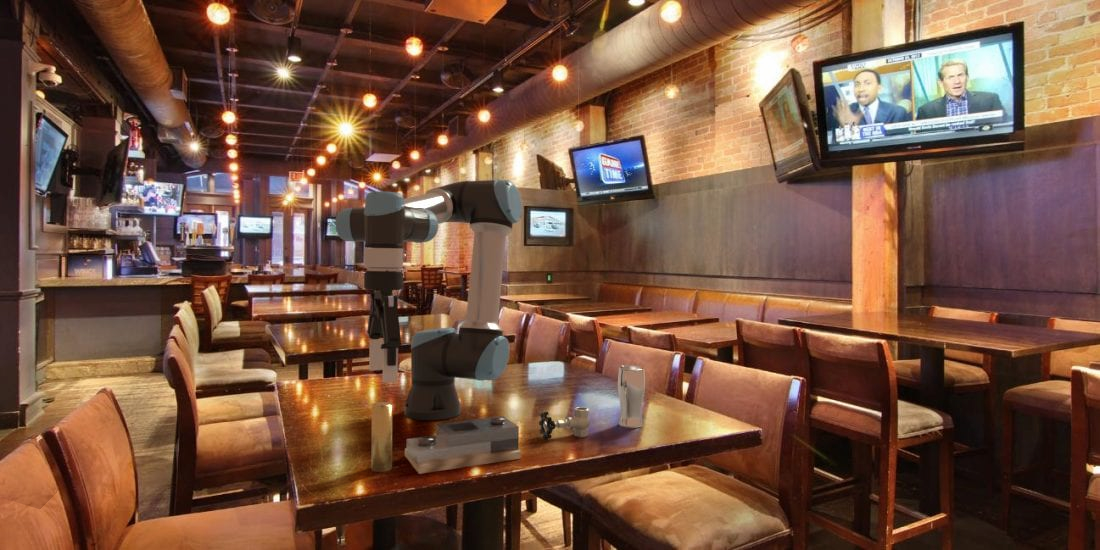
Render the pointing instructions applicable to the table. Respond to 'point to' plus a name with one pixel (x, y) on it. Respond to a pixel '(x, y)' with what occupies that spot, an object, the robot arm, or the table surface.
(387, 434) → the brass pin
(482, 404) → the table surface
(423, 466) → the board
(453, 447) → the stepped bolted base plate
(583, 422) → the valve
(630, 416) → the beer glass
